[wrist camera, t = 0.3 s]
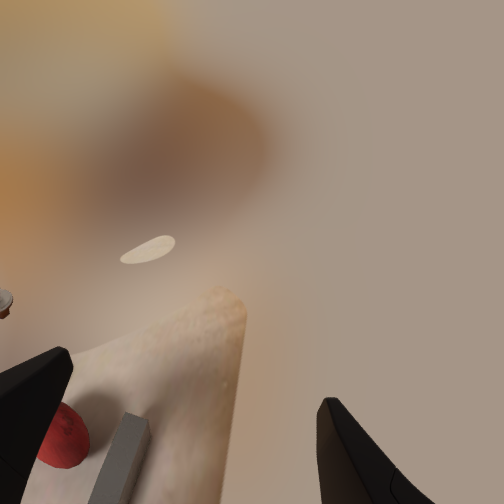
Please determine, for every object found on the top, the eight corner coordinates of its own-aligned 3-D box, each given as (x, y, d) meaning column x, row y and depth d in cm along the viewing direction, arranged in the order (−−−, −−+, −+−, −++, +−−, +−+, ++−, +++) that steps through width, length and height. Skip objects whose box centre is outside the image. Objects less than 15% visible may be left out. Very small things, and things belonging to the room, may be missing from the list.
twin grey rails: (121, 526, 10) (111, 523, 9) (-2, 452, 10) (-21, 435, 9) (151, 436, 19) (148, 420, 18) (39, 384, 19) (28, 363, 18)
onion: (65, 413, 18) (37, 361, 14) (111, 449, 17) (88, 407, 13) (31, 448, 13) (-11, 403, 9) (76, 490, 12) (37, 461, 8)
